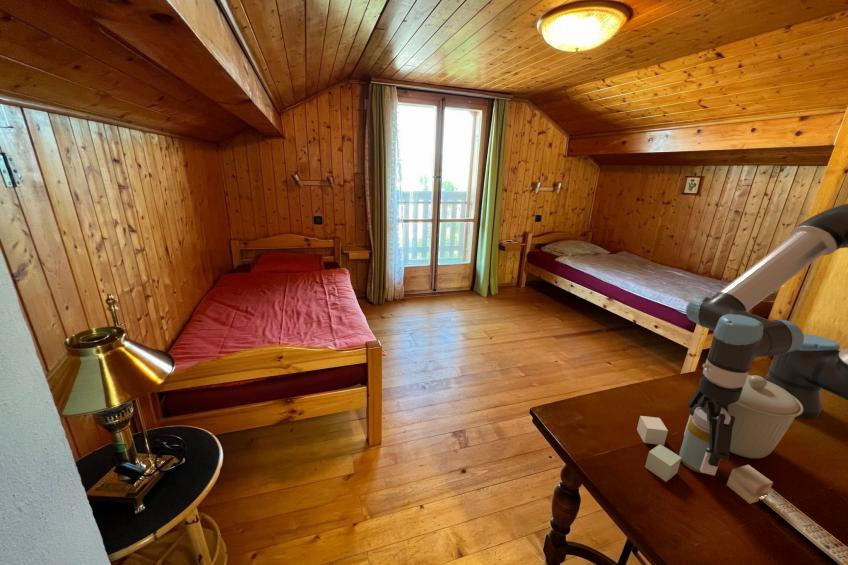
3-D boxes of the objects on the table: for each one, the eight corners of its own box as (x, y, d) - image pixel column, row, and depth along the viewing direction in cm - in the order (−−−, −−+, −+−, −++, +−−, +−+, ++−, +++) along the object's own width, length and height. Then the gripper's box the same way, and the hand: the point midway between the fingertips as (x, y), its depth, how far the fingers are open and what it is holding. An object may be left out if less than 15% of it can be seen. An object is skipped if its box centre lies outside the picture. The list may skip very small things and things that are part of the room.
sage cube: (655, 459, 90) (660, 444, 89) (676, 473, 86) (681, 457, 85) (644, 467, 88) (649, 451, 86) (666, 482, 84) (670, 466, 82)
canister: (707, 458, 90) (730, 390, 84) (685, 414, 106) (703, 353, 100) (797, 479, 84) (830, 407, 78) (759, 428, 101) (783, 365, 94)
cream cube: (655, 432, 99) (659, 417, 98) (663, 445, 95) (668, 430, 93) (636, 430, 100) (640, 415, 99) (643, 443, 96) (647, 428, 94)
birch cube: (742, 480, 84) (748, 464, 83) (765, 498, 80) (772, 482, 78) (726, 485, 83) (732, 469, 81) (749, 504, 78) (756, 487, 77)
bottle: (718, 477, 85) (736, 427, 80) (686, 472, 86) (702, 423, 81) (703, 455, 91) (718, 407, 87) (673, 450, 93) (687, 404, 88)
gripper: (686, 352, 93) (667, 419, 100) (723, 408, 71) (696, 488, 79) (720, 357, 90) (699, 425, 97) (770, 416, 69) (737, 498, 76)
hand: (698, 453), depth 88 cm, fingers open, 11 cm apart
